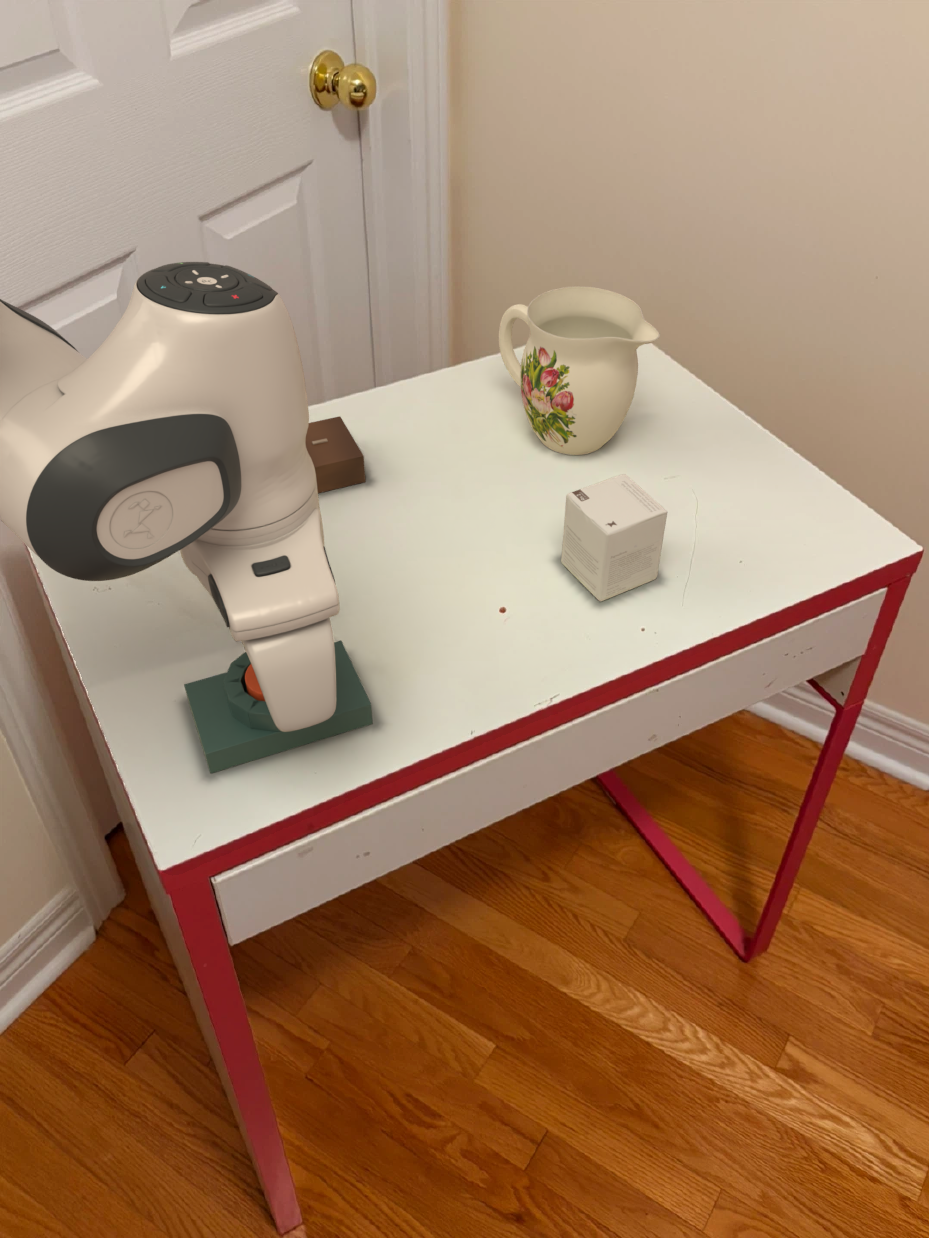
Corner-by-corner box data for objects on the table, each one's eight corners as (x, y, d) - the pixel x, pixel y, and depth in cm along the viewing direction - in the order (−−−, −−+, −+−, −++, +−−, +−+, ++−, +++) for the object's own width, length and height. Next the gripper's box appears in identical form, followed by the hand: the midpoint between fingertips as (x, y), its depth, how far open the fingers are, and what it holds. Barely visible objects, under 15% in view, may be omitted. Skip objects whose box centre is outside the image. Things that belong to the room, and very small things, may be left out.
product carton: (657, 580, 88) (670, 511, 83) (598, 604, 86) (608, 534, 81) (615, 539, 92) (625, 471, 87) (557, 561, 90) (564, 492, 85)
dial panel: (219, 524, 93) (214, 496, 91) (197, 467, 99) (191, 439, 97) (369, 488, 97) (367, 460, 95) (339, 436, 103) (336, 408, 101)
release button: (256, 717, 74) (252, 701, 72) (242, 679, 76) (238, 662, 75) (311, 701, 75) (308, 685, 74) (295, 663, 77) (292, 647, 76)
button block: (210, 773, 73) (200, 737, 70) (189, 703, 78) (179, 667, 75) (372, 724, 77) (370, 687, 74) (343, 659, 81) (339, 623, 78)
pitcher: (534, 376, 111) (542, 252, 102) (671, 446, 102) (694, 317, 93) (461, 417, 106) (462, 289, 96) (600, 494, 97) (616, 362, 87)
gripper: (164, 442, 71) (199, 593, 80) (237, 643, 57) (269, 795, 67) (256, 423, 72) (279, 572, 82) (348, 613, 59) (363, 765, 69)
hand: (275, 674), depth 74 cm, fingers closed, pressing on release button
